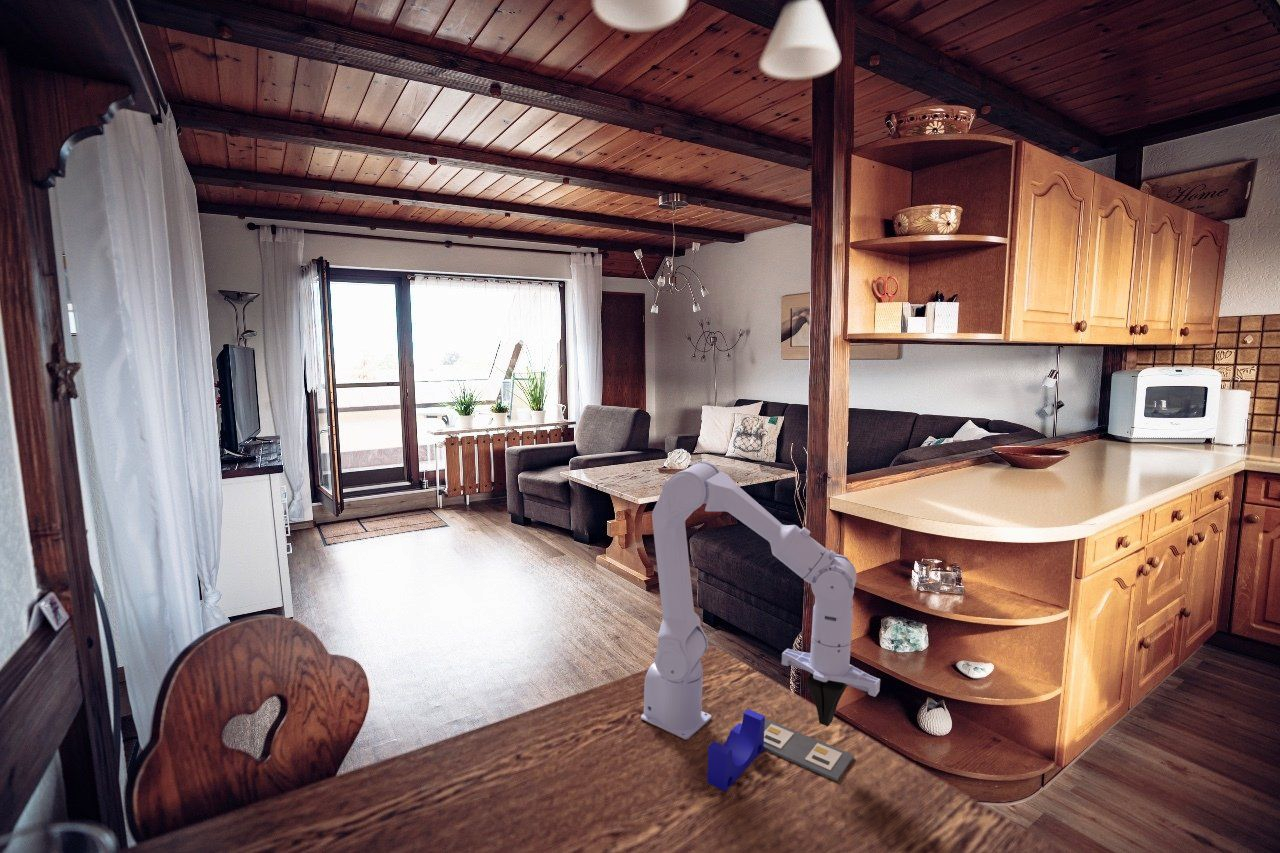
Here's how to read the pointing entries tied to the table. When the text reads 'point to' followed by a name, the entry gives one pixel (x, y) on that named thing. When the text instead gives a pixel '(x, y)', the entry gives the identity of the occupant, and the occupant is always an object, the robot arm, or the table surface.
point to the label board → (805, 751)
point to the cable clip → (736, 751)
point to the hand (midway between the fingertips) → (825, 721)
